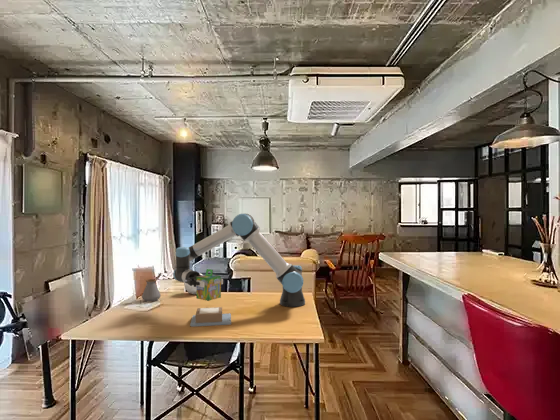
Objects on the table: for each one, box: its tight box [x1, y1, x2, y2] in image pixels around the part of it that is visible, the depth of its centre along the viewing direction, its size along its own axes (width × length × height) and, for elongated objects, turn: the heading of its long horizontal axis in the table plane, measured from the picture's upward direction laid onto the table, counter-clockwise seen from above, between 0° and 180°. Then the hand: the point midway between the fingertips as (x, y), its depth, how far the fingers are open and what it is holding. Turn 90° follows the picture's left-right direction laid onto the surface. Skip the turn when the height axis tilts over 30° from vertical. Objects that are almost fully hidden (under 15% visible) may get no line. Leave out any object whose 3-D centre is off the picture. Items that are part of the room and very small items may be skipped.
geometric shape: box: [183, 272, 203, 295], centre depth 268 cm, size 14×15×15 cm
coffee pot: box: [141, 272, 163, 302], centre depth 254 cm, size 21×12×15 cm, turn 173°
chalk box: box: [195, 268, 222, 302], centre depth 203 cm, size 9×9×15 cm
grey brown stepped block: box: [189, 306, 232, 327], centre depth 203 cm, size 20×16×6 cm
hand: (213, 283), depth 200 cm, fingers closed on chalk box, 10 cm apart
